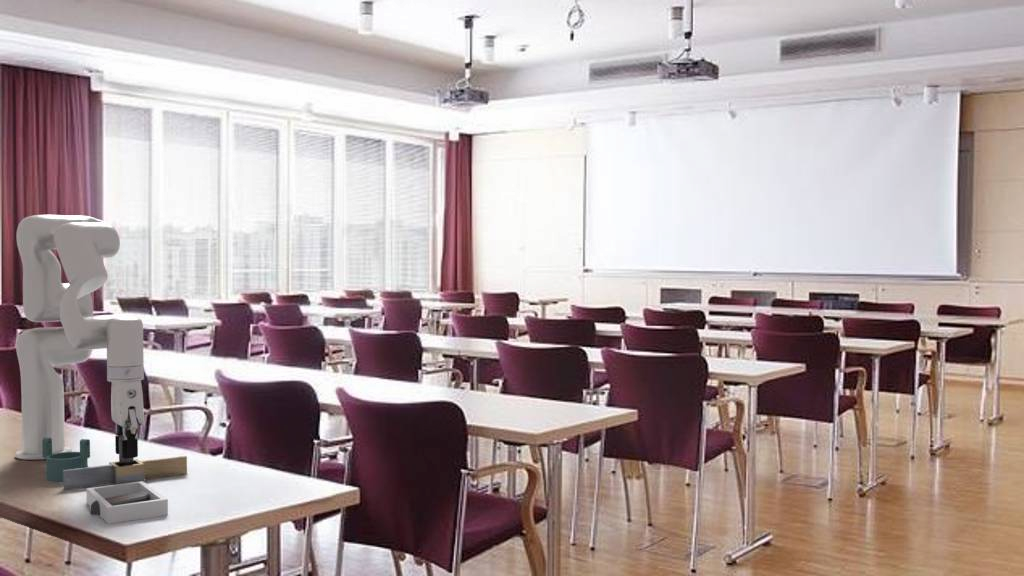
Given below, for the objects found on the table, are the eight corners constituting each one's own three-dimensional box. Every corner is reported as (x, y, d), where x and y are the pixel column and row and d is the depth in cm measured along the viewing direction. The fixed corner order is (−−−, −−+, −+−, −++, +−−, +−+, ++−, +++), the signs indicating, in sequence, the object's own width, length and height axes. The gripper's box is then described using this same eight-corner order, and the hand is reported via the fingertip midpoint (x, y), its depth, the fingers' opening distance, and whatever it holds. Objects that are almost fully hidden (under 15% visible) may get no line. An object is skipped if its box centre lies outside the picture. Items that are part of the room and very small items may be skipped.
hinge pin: (132, 478, 222) (131, 434, 221) (135, 481, 219) (134, 436, 219) (117, 480, 220) (117, 435, 220) (121, 483, 218) (120, 438, 217)
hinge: (66, 492, 210) (66, 473, 210) (60, 486, 215) (60, 468, 214) (190, 476, 225) (190, 458, 224) (182, 471, 230) (182, 453, 229)
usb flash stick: (90, 513, 193) (90, 499, 193) (143, 501, 203) (143, 488, 203) (106, 517, 190) (106, 503, 190) (159, 505, 200) (160, 491, 200)
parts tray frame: (86, 503, 201) (86, 488, 201) (142, 495, 207) (142, 481, 207) (108, 523, 186) (107, 507, 186) (167, 514, 192) (167, 499, 192)
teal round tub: (91, 479, 221) (90, 439, 221) (45, 484, 217) (45, 443, 216) (85, 472, 229) (85, 433, 229) (41, 476, 224) (41, 437, 224)
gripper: (153, 376, 214) (154, 460, 215) (133, 368, 228) (134, 447, 229) (117, 379, 210) (118, 464, 210) (98, 370, 223) (99, 450, 224)
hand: (126, 454), depth 219 cm, fingers open, 4 cm apart
